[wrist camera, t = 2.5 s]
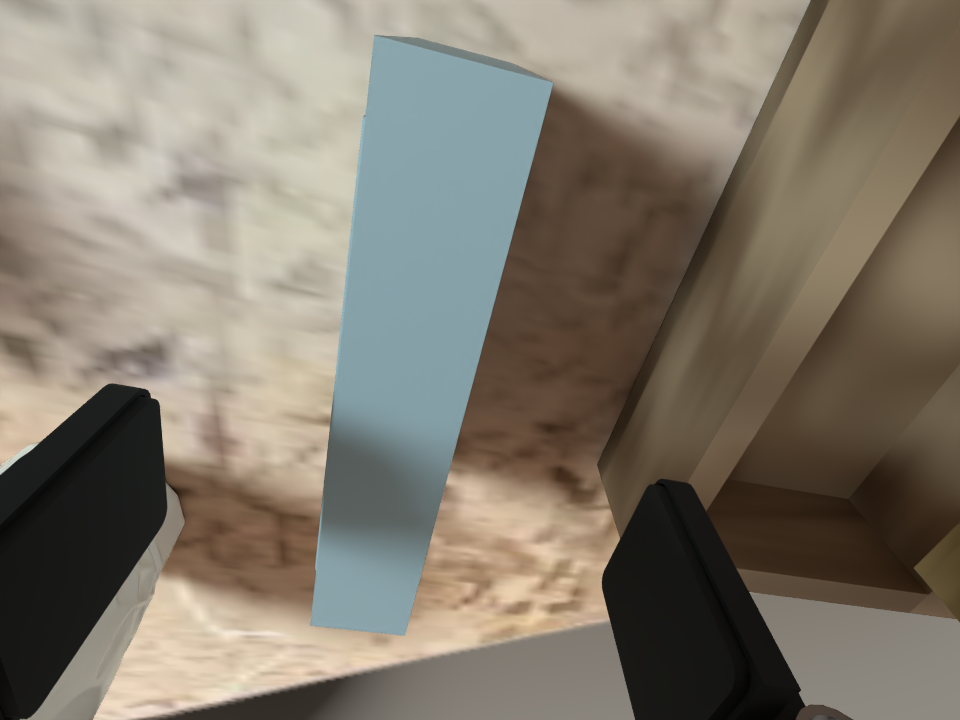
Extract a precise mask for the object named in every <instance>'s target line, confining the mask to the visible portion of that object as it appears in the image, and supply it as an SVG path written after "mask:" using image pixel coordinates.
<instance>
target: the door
mask: <svg viewBox="0 0 960 720" xmlns="http://www.w3.org/2000/svg"><path fill="white" fill-rule="evenodd" d="M552 87H553V82H551V81H549V80H547V79H545V78H542V77H540V76H538V75H536V74H534V73H532V72H529V71H527V70H525V69H523V68H521V67H519V66H517V65H514V64H512V63H509V62H506V61H502V60H498V59H495V58H491V57H487V56H483V55H480V54H476V53H472V52H468V51H465V50H461V49H457V48H453V47H450V46H446V45H442V44H438V43H435V42H431V41H427V40H424V39H420V38H411V37H396V36H380V35H374V43H373V52H372V61H371V71H370V80H369V89H368V98H367V107H366V115H364V116H363V121H362V131H361V140H360V150H359V159H358V169H357V178H356V187H355V197H354V206H353V216H352V225H351V234H350V244H349V253H348V263H347V272H346V281H345V291H344V300H343V310H342V319H341V328H340V338H339V347H338V357H337V366H336V375H335V385H334V394H333V404H332V413H331V422H330V432H329V441H328V451H327V460H326V470H325V479H324V488H323V498H322V507H321V517H320V526H319V535H318V545H317V554H316V564H315V570H316V577H315V587H314V596H313V605H312V614H311V623H310V626H318V627H328V628H337V629H347V630H356V631H365V632H375V633H384V634H394V635H403V636H405V633H406V629H407V626H408V622H409V618H410V614H411V611H412V607H413V603H414V600H415V596H416V592H417V588H418V585H419V581H420V577H421V574H422V570H423V566H424V562H425V559H426V555H427V551H428V548H429V544H430V540H431V536H432V533H433V529H434V525H435V521H436V518H437V514H438V510H439V507H440V503H441V499H442V495H443V492H444V488H445V484H446V481H447V477H448V473H449V469H450V466H451V462H452V458H453V455H454V451H455V447H456V443H457V440H458V436H459V432H460V429H461V425H462V421H463V417H464V414H465V410H466V406H467V403H468V399H469V395H470V391H471V388H472V384H473V380H474V377H475V373H476V369H477V365H478V362H479V358H480V354H481V351H482V347H483V343H484V339H485V336H486V332H487V328H488V324H489V321H490V317H491V313H492V310H493V306H494V302H495V298H496V295H497V291H498V287H499V284H500V280H501V276H502V272H503V269H504V265H505V261H506V258H507V254H508V250H509V246H510V243H511V239H512V235H513V232H514V228H515V224H516V220H517V217H518V213H519V209H520V206H521V202H522V198H523V194H524V191H525V187H526V183H527V180H528V176H529V172H530V168H531V165H532V161H533V157H534V153H535V150H536V146H537V142H538V139H539V135H540V131H541V127H542V124H543V120H544V116H545V113H546V109H547V105H548V101H549V98H550V94H551V90H552Z"/></svg>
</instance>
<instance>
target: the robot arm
mask: <svg viewBox="0 0 960 720" xmlns="http://www.w3.org/2000/svg"><path fill="white" fill-rule="evenodd" d="M166 515H167V493H166V480H165V467H164V454H163V441H162V429H161V416H160V405H159V402H158V400H156V399H152V398H151V396H150V393H149V391H148V390H146V389H142V388H136V387H131V386H125V385H119V384H108V385H106V386H105V387H103V388H102V389H101V390H100V391H99V392H98V393H96V394H95V395H94V396H93V397H92V398H91V399H89V400H88V401H87V402H86V403H85V404H84V405H83V406H81V407H80V408H79V409H78V410H77V411H76V412H75V413H73V414H72V415H71V416H70V417H69V418H68V419H66V420H65V421H64V422H63V423H62V424H61V425H60V426H58V427H57V428H56V429H55V430H54V431H53V432H52V433H50V434H49V435H48V436H47V437H46V438H45V439H43V440H42V441H41V442H40V443H39V444H38V445H37V446H35V447H34V448H33V449H32V450H31V451H30V452H28V453H26V454H25V455H23V456H22V457H21V458H19V459H18V460H17V461H16V462H14V463H13V464H12V465H11V466H10V467H9V468H8V469H6V470H5V471H4V472H3V473H2V474H1V475H0V720H20V719H28V718H30V717H31V716H33V715H34V714H35V713H36V712H37V710H38V709H39V708H40V706H41V705H42V704H43V702H44V701H45V699H46V698H47V696H48V695H49V693H50V692H51V690H52V689H53V687H54V686H55V684H56V683H57V681H58V680H59V679H60V677H61V676H62V674H63V673H64V671H65V670H66V668H67V667H68V665H69V664H70V662H71V661H72V659H73V658H74V656H75V655H76V653H77V652H78V650H79V649H80V647H81V646H82V644H83V643H84V641H85V640H86V638H87V637H88V635H89V634H90V632H91V631H92V630H93V628H94V627H95V625H96V624H97V622H98V621H99V619H100V618H101V616H102V615H103V613H104V612H105V610H106V609H107V607H108V606H109V604H110V603H111V601H112V600H113V598H114V597H115V595H116V594H117V592H118V591H119V589H120V588H121V586H122V585H123V583H124V582H125V581H126V579H127V578H128V576H129V575H130V573H131V572H132V570H133V569H134V567H135V566H136V564H137V563H138V561H139V560H140V558H141V557H142V555H143V554H144V552H145V551H146V549H147V548H148V546H149V545H150V543H151V542H152V540H153V539H154V537H155V536H156V534H157V533H158V532H159V530H160V529H161V527H162V525H163V523H164V521H165V518H166ZM602 590H603V594H604V598H605V602H606V606H607V610H608V614H609V618H610V622H611V626H612V630H613V633H614V638H615V641H616V645H617V649H618V653H619V657H620V661H621V665H622V669H623V673H624V677H625V681H626V685H627V689H628V693H629V697H630V701H631V705H632V709H633V713H634V716H635V720H853V719H851V718H850V717H848V716H846V715H844V714H843V713H841V712H840V711H838V710H836V709H833V708H830V707H827V706H824V705H808V706H805V705H804V703H803V701H802V699H801V697H800V695H799V692H800V691H801V689H800V687H799V685H798V683H797V682H796V679H795V678H794V676H793V674H792V672H791V670H790V668H789V667H788V664H787V663H786V661H785V659H784V657H783V655H782V653H781V651H780V650H779V648H778V646H777V644H776V642H775V640H774V638H773V636H772V634H771V633H770V631H769V629H768V627H767V625H766V623H765V621H764V619H763V617H762V616H761V614H760V612H759V610H758V608H757V606H756V604H755V603H754V601H753V599H752V597H751V595H750V593H749V591H748V589H747V587H746V585H745V584H744V582H743V580H742V578H741V576H740V574H739V572H738V570H737V569H736V567H735V565H734V563H733V561H732V559H731V557H730V555H729V554H728V552H727V550H726V548H725V546H724V544H723V542H722V540H721V539H720V537H719V535H718V533H717V531H716V529H715V527H714V525H713V523H712V522H711V520H710V518H709V516H708V514H707V512H706V510H705V508H704V507H703V505H702V503H701V501H700V499H699V497H698V495H697V493H696V492H695V490H694V488H693V487H692V485H691V484H689V483H686V482H680V481H674V480H668V479H659V480H658V481H656V483H655V484H650V485H648V486H647V488H646V489H645V491H644V493H643V495H642V497H641V499H640V501H639V503H638V505H637V507H636V509H635V511H634V513H633V515H632V517H631V519H630V521H629V523H628V525H627V527H626V529H625V531H624V533H623V535H622V537H621V539H620V541H619V543H618V545H617V547H616V549H615V551H614V552H613V554H612V556H611V558H610V560H609V562H608V564H607V566H606V568H605V570H604V573H603V577H602Z"/></svg>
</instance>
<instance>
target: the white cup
mask: <svg viewBox="0 0 960 720" xmlns="http://www.w3.org/2000/svg"><path fill="white" fill-rule="evenodd" d="M38 444H39V443H34V444H30V445H28V446H26V447H25V448H24V449H22V450H21V451H19V452H18V453H17V454H15V455H14V456H12V457H11V458H9V459H8V460H7V461H5V462H4V463H2V464H1V465H0V475H1V474H2V473H3V472H4V471H5V470H6V469H8V468H9V467H10V466H11V465H12V464H13V463H14V462H16V461H17V460H18V459H19V458H21V457H22V456H23V455H25V454H26V453H28V452H30V451H31V450H32V449H33V448H34V447H35V446H37V445H38ZM166 493H167V515H166V518H165V521H164V523H163V525H162V527H161V529H160V530H159V532H158V533H157V534H156V536H155V537H154V539H153V540H152V542H151V543H150V545H149V546H148V548H147V549H146V551H145V552H144V554H143V555H142V557H141V558H140V560H139V561H138V563H137V564H136V566H135V567H134V569H133V570H132V572H131V573H130V575H129V576H128V578H127V579H126V581H125V582H124V583H123V585H122V586H121V588H120V589H119V591H118V592H117V594H116V595H115V597H114V598H113V600H112V601H111V603H110V604H109V606H108V607H107V609H106V610H105V612H104V613H103V615H102V616H101V618H100V619H99V621H98V622H97V624H96V625H95V627H94V628H93V630H92V631H91V632H90V634H89V635H88V637H87V638H86V640H85V641H84V643H83V644H82V646H81V647H80V649H79V650H78V652H77V653H76V655H75V656H74V658H73V659H72V661H71V662H70V664H69V665H68V667H67V668H66V670H65V671H64V673H63V674H62V676H61V677H60V679H59V680H58V681H57V683H56V684H55V686H54V687H53V689H52V690H51V692H50V693H49V695H48V696H47V698H46V699H45V701H44V702H43V704H42V705H41V706H40V708H39V709H38V710H37V712H36V713H35V714H34V715H33V716H31V717H30V718H28V719H20V720H93V718H94V716H95V714H96V712H97V710H98V708H99V706H100V704H101V702H102V701H103V699H104V697H105V695H106V693H107V691H108V689H109V687H110V685H111V683H112V682H113V680H114V678H115V676H116V673H117V671H118V669H119V666H120V664H121V661H122V658H123V655H124V653H125V652H126V650H127V648H128V646H129V645H130V643H131V641H132V639H133V637H134V635H135V634H136V632H137V629H138V627H139V625H140V622H141V620H142V617H143V615H144V612H145V611H146V609H147V607H148V605H149V603H150V602H151V600H152V598H153V596H154V593H155V586H156V583H157V581H158V579H159V576H160V573H161V571H162V569H163V567H164V565H165V563H166V562H167V560H168V558H169V556H170V554H171V552H172V550H173V548H174V546H175V544H176V542H177V539H178V537H179V535H180V533H181V531H182V529H183V526H184V524H185V520H184V517H183V513H182V509H181V506H180V502H179V498H178V495H177V494H176V493H175V492H174V491H173V490H172V488H171V487H170V486H169V485H168V484H167V483H166Z"/></svg>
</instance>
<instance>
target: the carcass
mask: <svg viewBox="0 0 960 720" xmlns="http://www.w3.org/2000/svg"><path fill="white" fill-rule="evenodd" d="M597 466H598V469H599V472H600V476H601V479H602V482H603V485H604V488H605V492H606V495H607V498H608V501H609V504H610V508H611V511H612V514H613V517H614V520H615V524H616V527H617V530H618V533H619V536H620V539H621V537H622V535H623V533H624V531H625V529H626V527H627V525H628V523H629V521H630V519H631V517H632V515H633V513H634V511H635V509H636V507H637V505H638V503H639V501H640V499H641V497H642V495H643V493H644V491H645V489H646V488H647V486H648V485H650V484H655V483H656V481H658V480H659V479H668V480H674V481H680V482H686V483H689V484H691V485H692V487H693V488H694V490H695V492H696V493H697V495H698V497H699V499H700V501H701V503H702V505H703V507H704V508H705V510H706V512H707V514H708V516H709V518H710V520H711V522H712V523H713V525H714V527H715V529H716V531H717V533H718V535H719V537H720V539H721V540H722V542H723V544H724V546H725V548H726V550H727V552H728V554H729V555H730V557H731V559H732V561H733V563H734V565H735V567H736V569H737V570H738V572H739V574H740V576H741V578H742V580H743V582H744V584H745V585H746V587H747V589H748V591H749V592H754V593H762V594H769V595H777V596H785V597H793V598H800V599H807V600H815V601H824V602H830V603H838V604H845V605H853V606H861V607H868V608H876V609H884V610H891V611H899V612H906V613H915V614H922V615H929V616H937V617H944V618H952V619H958V621H959V622H960V0H811V2H810V4H809V6H808V8H807V10H806V12H805V15H804V17H803V19H802V21H801V23H800V25H799V28H798V30H797V32H796V34H795V36H794V38H793V41H792V43H791V45H790V47H789V49H788V52H787V54H786V56H785V58H784V60H783V62H782V65H781V67H780V69H779V71H778V73H777V75H776V78H775V80H774V82H773V84H772V86H771V88H770V91H769V93H768V95H767V97H766V99H765V101H764V104H763V106H762V108H761V110H760V112H759V115H758V117H757V119H756V121H755V123H754V125H753V128H752V130H751V132H750V134H749V136H748V138H747V141H746V143H745V145H744V147H743V149H742V151H741V154H740V156H739V158H738V160H737V162H736V165H735V167H734V169H733V171H732V173H731V175H730V178H729V180H728V182H727V184H726V186H725V188H724V191H723V193H722V195H721V197H720V199H719V201H718V204H717V206H716V208H715V210H714V212H713V214H712V217H711V219H710V221H709V223H708V225H707V228H706V230H705V232H704V234H703V236H702V238H701V241H700V243H699V245H698V247H697V249H696V251H695V254H694V256H693V258H692V260H691V262H690V264H689V267H688V269H687V271H686V273H685V275H684V277H683V280H682V282H681V284H680V286H679V288H678V291H677V293H676V295H675V297H674V299H673V301H672V304H671V306H670V308H669V310H668V312H667V314H666V317H665V319H664V321H663V323H662V325H661V327H660V330H659V332H658V334H657V336H656V338H655V341H654V343H653V345H652V347H651V349H650V351H649V354H648V356H647V358H646V360H645V362H644V364H643V367H642V369H641V371H640V373H639V375H638V377H637V380H636V382H635V384H634V386H633V388H632V390H631V393H630V395H629V397H628V399H627V401H626V404H625V406H624V408H623V410H622V412H621V414H620V417H619V419H618V421H617V423H616V425H615V427H614V430H613V432H612V434H611V436H610V438H609V440H608V443H607V445H606V447H605V449H604V451H603V453H602V456H601V458H600V460H599V462H598V464H597Z"/></svg>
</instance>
